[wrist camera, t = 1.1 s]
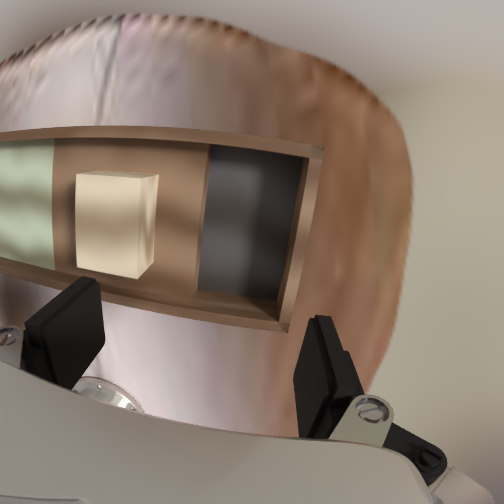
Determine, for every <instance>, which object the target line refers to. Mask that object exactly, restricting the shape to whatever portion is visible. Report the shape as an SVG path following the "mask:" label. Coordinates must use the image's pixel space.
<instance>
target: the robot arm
mask: <svg viewBox="0 0 504 504" xmlns="http://www.w3.org/2000/svg"><path fill="white" fill-rule="evenodd" d="M25 327H26V329H25V330H24V331H22V329H21V328H19V327H17V326H14V325H6V326H2V327H0V504H494V498H493V496H492V494H491V493H490V492H489V491H488V490H487V489H485V488H484V487H482V486H481V485H479V484H478V483H476V482H475V481H474V480H472V479H471V478H469V477H468V476H466V475H465V474H464V473H462V472H461V471H459V470H458V469H456V468H455V467H454V466H453V467H452V468H451V469H450V468H449V467H447V458H446V456H445V454H444V453H443V452H442V450H441V449H439V448H438V447H436V446H435V445H433V444H431V443H429V442H427V441H425V440H423V439H421V438H420V437H418V436H416V435H414V434H412V433H410V432H409V431H406V430H405V429H403V428H401V427H400V426H398V425H396V424H394V423H393V422H392V421H393V417H394V412H393V408H392V407H391V406H390V404H389V403H388V402H387V401H385V400H384V399H382V398H380V397H378V396H374V395H367V394H366V395H365V394H364V391H363V388H362V386H361V383H360V380H359V377H358V375H357V372H356V369H355V367H354V364H353V361H352V359H351V356H350V354H349V352H348V351H344V350H343V348H342V345H341V342H340V340H339V337H338V334H337V331H336V329H335V326H334V323H333V321H332V318H331V316H323V315H315V317H314V318H310V319H309V322H308V325H307V329H306V333H305V336H304V340H303V344H302V347H301V351H300V354H299V358H298V361H297V364H296V368H295V371H294V377H293V382H294V391H295V401H296V410H297V420H298V431H299V438H298V437H282V436H271V435H261V434H252V433H243V432H235V431H228V430H222V429H215V428H209V427H204V426H198V425H193V424H188V423H183V422H178V421H173V420H169V419H165V418H160V417H156V416H152V415H148V414H144V411H143V410H142V408H141V407H140V405H139V404H138V403H137V402H136V401H135V400H134V399H133V398H132V397H131V396H130V395H129V394H127V393H126V392H125V391H123V390H122V389H120V388H119V387H117V386H115V385H113V384H111V383H109V382H107V381H104V380H101V379H97V378H91V377H85V378H81V376H82V375H83V374H84V372H85V371H86V369H87V368H88V367H89V365H90V364H91V362H92V361H93V360H94V358H95V357H96V356H97V354H98V353H99V352H100V350H101V349H102V347H103V346H104V344H105V332H104V323H103V314H102V303H101V291H100V284H99V283H97V281H96V279H95V278H91V277H86V276H81V277H80V278H79V279H77V280H76V281H75V282H74V283H72V284H71V285H70V286H68V287H67V288H66V289H65V290H63V291H62V292H61V293H60V294H58V295H57V296H56V297H55V298H53V299H52V300H51V301H50V302H49V303H47V304H46V305H45V306H44V307H43V308H41V309H40V310H39V311H38V312H37V313H35V314H34V315H33V316H32V317H31V318H30V319H28V320H27V321H26V322H25ZM80 378H81V379H80Z"/></svg>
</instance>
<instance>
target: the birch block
mask: <svg viewBox="0 0 504 504" xmlns="http://www.w3.org/2000/svg"><path fill="white" fill-rule="evenodd" d="M158 180H159V175H158V174H146V173H134V172H121V171H106V170H98V171H91V172H85V173H79V174H76V196H75V231H76V256H77V267H79V268H84V269H89V270H93V271H98V272H103V273H108V274H113V275H118V276H123V277H129V278H134V279H138V278H139V277H140V276H141V275H142V274H143V273H144V272H145V271H146V270H147V269H148V267H149V266H150V265H151V264H152V263H153V260H154V235H155V218H156V203H157V191H158Z"/></svg>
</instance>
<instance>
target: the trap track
mask: <svg viewBox="0 0 504 504" xmlns="http://www.w3.org/2000/svg"><path fill="white" fill-rule="evenodd" d="M323 155H324V147H319V146H314V145H308V144H303V143H298V142H292V141H286V140H280V139H274V138H267V137H260V136H253V135H245V134H237V133H229V132H220V131H210V130H199V129H186V128H171V127H151V126H74V127H55V128H41V129H29V130H19V131H11V132H3V133H0V272H1V273H4V274H7V275H10V276H14V277H17V278H20V279H23V280H27V281H30V282H33V283H37V284H40V285H44V286H47V287H51V288H55V289H58V290H62V291H63V290H65V289H66V288H67V287H68V286H70V285H71V284H72V283H74V282H75V281H76V280H77V279H79V278H80V277H81V276H86V277H91V278H95V279H96V281H97V283H99V284H100V291H101V300H102V301H106V302H110V303H115V304H119V305H124V306H128V307H133V308H138V309H142V310H147V311H152V312H157V313H162V314H168V315H173V316H178V317H184V318H189V319H195V320H201V321H207V322H213V323H219V324H226V325H232V326H239V327H246V328H253V329H261V330H268V331H276V332H285V333H288V330H289V326H290V321H291V317H292V313H293V308H294V304H295V300H296V295H297V291H298V286H299V282H300V277H301V272H302V268H303V263H304V258H305V253H306V248H307V243H308V238H309V233H310V228H311V223H312V218H313V212H314V207H315V201H316V196H317V190H318V185H319V179H320V173H321V167H322V161H323ZM98 170H106V171H121V172H134V173H146V174H158V175H159V180H158V191H157V203H156V218H155V235H154V260H153V263H152V264H151V265H150V266H149V267H148V269H147V270H146V271H145V272H144V273H143V274H142V275H141V276H140V277H139V278H138V279H134V278H129V277H123V276H118V275H113V274H108V273H103V272H98V271H93V270H89V269H84V268H79V267H77V256H76V231H75V196H76V174H79V173H85V172H91V171H98Z"/></svg>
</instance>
